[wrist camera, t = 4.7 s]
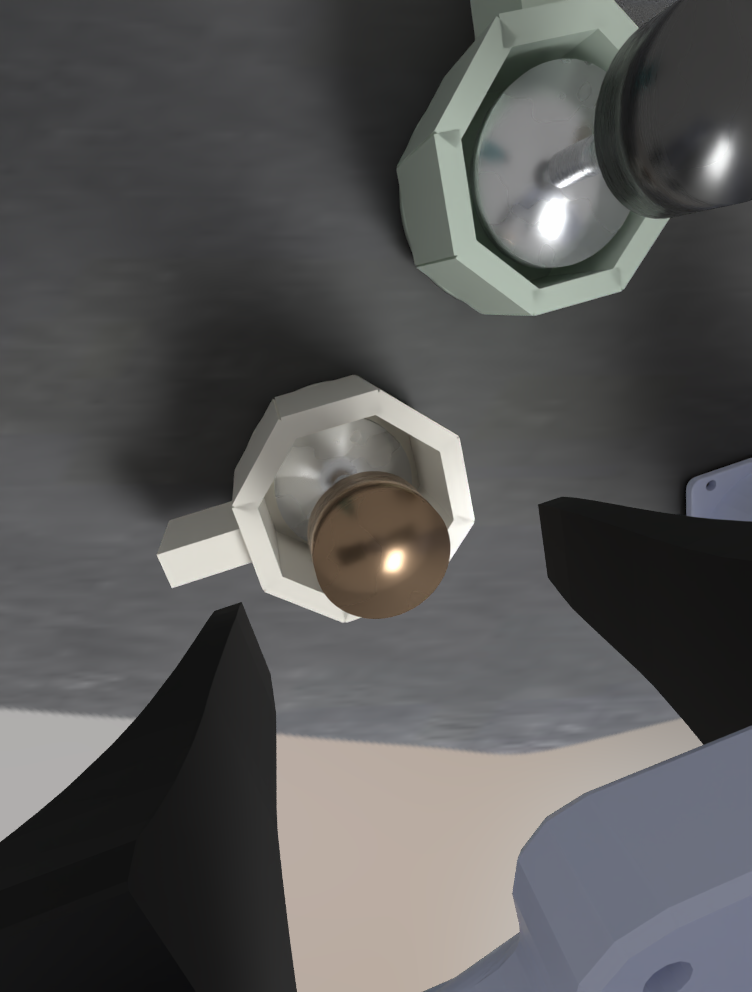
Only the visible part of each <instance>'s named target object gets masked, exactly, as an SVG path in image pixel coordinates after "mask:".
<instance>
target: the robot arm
mask: <svg viewBox="0 0 752 992" xmlns="http://www.w3.org/2000/svg"><path fill="white" fill-rule="evenodd" d="M708 482H709V484H708ZM707 484H708V486H707ZM706 486H707V487H706ZM538 507H539V515H540V522H541V530H542V537H543V545H544V552H545V559H546V567H547V574H548V578H549V579H550V581H551V582H552V583H553V585H554V586H555V587H556V589H557V590H558V591H559V593H560V594H561V595H562V596H563V598H564V599H565V600H566V601H567V602H568V604H569V605H570V606H571V607H572V608H573V609H574V610H575V611H576V612H577V613H578V614H579V615H580V616H581V617H582V618H583V619H584V620H585V621H586V622H587V623H588V624H589V625H590V626H591V627H592V628H593V629H594V630H596V631H597V632H598V633H599V634H600V635H601V636H602V637H603V638H604V639H605V640H606V641H607V642H608V643H609V644H611V645H612V646H613V647H614V648H615V649H616V650H617V651H618V652H619V653H620V654H621V655H622V656H623V657H624V658H625V659H627V660H628V661H629V662H630V663H631V664H632V665H633V666H634V667H635V668H636V669H637V670H638V671H639V672H640V673H641V674H642V675H643V676H644V677H645V678H646V679H647V680H648V681H649V682H650V683H651V684H652V685H653V686H654V687H655V688H656V689H657V690H658V691H659V693H660V694H661V695H662V696H663V697H664V698H665V700H666V701H667V702H668V703H669V704H670V705H671V706H672V708H673V709H674V710H675V711H676V712H677V713H678V715H679V716H680V717H681V718H682V719H683V720H684V721H685V723H686V724H687V725H688V726H689V727H690V729H691V730H692V731H693V732H694V734H695V735H696V736H697V737H698V738H699V740H700V741H701V742H702V743H703V745H702V746H700V747H698V748H695V749H693V750H690V751H688V752H685V753H683V754H680V755H678V756H675V757H673V758H670V759H668V760H666V761H663V762H661V763H658V764H655V765H653V766H651V767H648V768H646V769H643V770H641V771H638V772H636V773H633V774H631V775H628V776H626V777H624V778H621V779H618V780H616V781H614V782H611V783H609V784H606V785H604V786H602V787H599V788H596V789H594V790H591V791H589V792H587V793H584V794H582V795H581V796H579V797H578V798H576V799H575V800H573V801H571V802H570V803H568V804H566V805H565V806H563V807H562V808H560V809H559V810H557V811H555V812H554V813H552V814H550V815H549V816H547V817H546V818H545V820H544V821H543V822H542V823H541V825H540V826H539V828H538V829H537V830H536V831H535V832H534V834H533V835H532V836H531V838H530V839H529V840H528V842H527V843H526V844H525V846H524V847H523V848H522V849H521V852H520V854H519V857H518V860H517V866H516V873H515V880H514V886H513V893H512V894H513V899H514V903H515V908H516V912H517V917H518V921H519V926H520V932H519V933H518V934H516V935H515V936H513V937H512V938H510V939H509V940H508V941H506V942H505V943H503V944H502V945H501V946H499V947H498V948H496V949H495V950H493V951H492V952H491V953H489V954H488V955H486V956H485V957H484V958H482V959H481V960H479V961H478V962H477V963H475V964H474V965H472V966H471V967H469V968H468V969H467V970H465V971H464V972H462V973H461V974H459V975H458V976H457V977H455V978H453V979H451V980H449V981H447V982H444V983H442V984H439V985H437V986H435V987H432V988H430V989H428V990H426V991H424V992H752V458H749V459H746V460H743V461H740V462H737V463H734V464H731V465H728V466H725V467H722V468H719V469H717V470H714V471H711V472H708V473H705V474H702V475H699V476H696V477H694V478H692V479H691V480H690V481H689V482H688V484H687V487H686V516H683V515H676V514H668V513H662V512H655V511H649V510H643V509H637V508H632V507H626V506H620V505H615V504H609V503H604V502H598V501H593V500H586V499H580V498H571V497H560V498H557V499H554V500H551V501H547V502H544V503H541V504H538ZM0 992H297V989H296V982H295V975H294V968H293V960H292V953H291V945H290V937H289V929H288V921H287V913H286V904H285V896H284V887H283V879H282V869H281V860H280V850H279V841H278V831H277V810H276V710H275V703H274V695H273V688H272V682H271V675H270V672H269V669H268V667H267V664H266V662H265V659H264V657H263V654H262V652H261V649H260V647H259V644H258V642H257V639H256V637H255V634H254V632H253V629H252V627H251V624H250V622H249V619H248V617H247V614H246V612H245V609H244V607H243V604H242V602H240V603H237V604H234V605H231V606H228V607H225V608H222V609H219V610H216V611H214V612H213V614H212V615H211V616H210V618H209V619H208V621H207V622H206V624H205V625H204V627H203V628H202V630H201V631H200V633H199V634H198V636H197V638H196V639H195V641H194V642H193V644H192V645H191V647H190V648H189V649H188V651H187V652H186V654H185V655H184V657H183V658H182V660H181V661H180V663H179V664H178V666H177V667H176V668H175V670H174V671H173V672H172V674H171V675H170V676H169V678H168V679H167V680H166V682H165V683H164V684H163V686H162V687H161V688H160V689H159V691H158V692H157V693H156V695H155V696H154V697H153V699H152V700H151V701H150V703H149V704H148V705H147V706H146V707H145V709H144V710H143V711H142V712H141V713H140V714H139V716H138V717H137V718H136V719H135V720H134V721H133V722H132V724H131V725H130V726H129V727H128V728H127V729H126V730H125V731H124V732H123V733H122V734H121V736H120V737H119V738H118V739H117V740H116V741H115V742H114V743H113V744H112V745H111V746H110V747H109V748H108V749H107V750H106V751H105V752H104V753H103V754H102V755H101V756H100V757H99V758H98V759H97V760H96V761H94V762H93V763H92V764H91V765H90V766H89V767H88V768H87V769H86V770H85V771H84V772H83V773H82V774H81V775H80V776H79V777H78V778H77V779H76V780H74V781H73V782H72V783H71V784H70V785H69V786H68V787H67V788H66V789H65V790H64V791H62V792H61V793H60V794H59V795H58V796H57V797H55V798H54V799H53V800H52V801H51V802H49V803H48V804H47V805H46V806H45V807H44V808H42V809H41V810H40V811H39V812H38V813H36V814H35V815H34V816H33V817H31V818H30V819H29V820H28V821H26V822H25V823H24V824H23V825H21V826H20V827H19V828H18V829H17V830H15V831H14V832H13V833H11V834H10V835H9V836H8V837H6V838H5V839H4V840H2V841H1V842H0Z"/></svg>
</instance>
